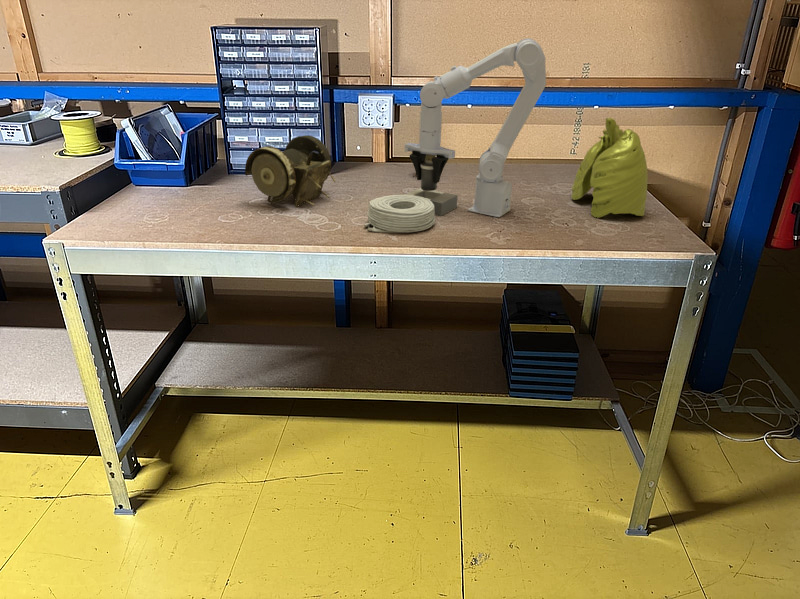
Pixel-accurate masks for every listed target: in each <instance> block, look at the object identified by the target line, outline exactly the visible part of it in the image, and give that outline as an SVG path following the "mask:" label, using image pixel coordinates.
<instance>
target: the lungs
mask: <svg viewBox="0 0 800 599" xmlns="http://www.w3.org/2000/svg"><path fill="white" fill-rule="evenodd" d="M602 133H603V135H602V136H598V139H600V140H599V141H597V142H595V144H593V145H591V148H589V149H588V150H587V152H586V154H585V156H584V157H583V160H582V161H581V162H580V166H579V167H578V169H577V171H576V174H575V178H574V181H573V184H572V187H571V196H570V198H571V199H572V200H573V201H577V200H580V199H582V197H584V195H586V194H587V193H588V192H590V190H591V189H592V188H593V190H592V193H591V195H592V197H593V199H592V202H591V209H590V214H591V215H592V216H593V217H594V218H596V217H597V219H599V218H602V217H606V216H607V215H609V214H613V215H617V214H624V215H625V214H631V215H635V216H638V217H639V216H640V217H645V216H644V215H645V210H646V204H647V203H646V202H647V197H648V196H647V195H648V164H647V160H646V155H645V151H644V149H643V147H642V145H641V138H640V136H639V134H638V133H636V132H635V131H634V130H632V129H630V128H628V129H625V130H623V129H621V128H620V125H619V124H617V122H616V120H615V119H614V118H612V117H608V118H605V129H603V130H602Z"/></svg>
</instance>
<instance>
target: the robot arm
mask: <svg viewBox="0 0 800 599" xmlns="http://www.w3.org/2000/svg"><path fill="white" fill-rule="evenodd" d="M515 62H516V63H517V65H518V67H519V68H520V70H521V71H522V76H523V79H524V85H523V87H522V89H521V91H520V93H519V94H518V96H517V98H516V100H515V102H514V104H513V105H512V107H511V109H510V111H509V112H508V115H507V116H506V118H505V120H504V121H503V123H502V126H501V127H500V129H499V131H498V133H497V135H496V136H495V139H494V140H493V141H492V142H491V143H490V146H489V147H488V149H486V150H485V151H483V153H482V154H481V155H480V156H479V159H478V164H479V165H478V174H476V176H475V178H476V179H475V188H474V189H475V190H474V201H473V205H472V206H471V207H469V208H468V209H467V211H468V212H471V213H475V214H481V215H485V216H491V217H496V218H500V217H502V216H504V215H505V214H507V213H508V212H510V211H511V202H512V192H513V191H512V190H513V186H512V183H511V182H510V181H508V180H507V181H506V180H504V176H503V172H504V165H505V162H506V161H507V158H508V155H509V152H510V150H511V149H512V146H513V145H514V143H515V141H516V139H517V138H518V136H519V134H520V132H521V131H522V129H523V127H524V125H525V123H526V122H527V120H528V118H529V116H530V114H531V113H532V111H533V110H534V107H535V105H536V104H537V102H538V101H539V99H540V97H541V95H542V93H543V91H544V90H545V87H546V86H547V76H546V75H547V73H546V72H547V71H546V56H545V53H544V51H543V48H542V46H541V45H540V44H539V43H538V42H537V41H536V40H535V39H533V38H529V37H528V38H523V39H521V40H520V41H519V42H514V43H511V44H508V45H506V46H504V47H501V48H500V49H498V50H496V51H494V52H493V53H491V54H489V55H487V56H485V57H484V58H482V59H481V60H479V61H477V62H475V63H473V64H472V65H470V66H468V67H467V66H464V65H458V66H456V65H454V66H451V67H450V71H447V72H446V73H443V74H442V75H440V76H438V75H436V76H433V80H430V81H428V82H426V83H425V84H424V85H423V86H422V88H421V90H420V92H419V99H420V101H421V104H420V112H419V133H418V134H419V135H418V136H419V137H418V143H413V142H408V143H404V152H411V154H409V158H410V160H411V163H412V165H413V168H414V171H415V175H416V180H417V181H421V163H422V162H423V161H425V157H426V154H429V155H435V156H436V157H434V158H432V163H433V183H435V184H436V183H437V184H438V183H439V182H440V179H441V176H442V172H443V170H444V168H445V166H446V164H447V162H448V161H449V160H453V159H455V158H456V150H455V149H451V148H447V147H444V146H442V144H441V143H442V141H441V138H442V125H443V123H442V121H443V112H442V105H443V104H442V102H443V100H444V99H445V100H447V99H450V98H452V97H454V96H456V95H457V94H459V93H461V92H463V91H465V90H467V89H470V88H471V85H472V82H473V80H474V79H477V78H478V77H479V78H480V77H481V76H484V75H485V74H487V73H489V72H492V71H493V70H495V69H497V68H499V67H502V66H506V67H515Z"/></svg>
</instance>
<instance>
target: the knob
mask: <svg viewBox="0 0 800 599" xmlns="http://www.w3.org/2000/svg"><path fill="white" fill-rule="evenodd" d="M437 185H438V183H436V184H435V183H433V163H432V161H423V162H422V163H421V180H420V188H421V189H422V190H425V191H433V190H434V191H437V188H438V186H437Z"/></svg>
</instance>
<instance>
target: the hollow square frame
mask: <svg viewBox="0 0 800 599" xmlns="http://www.w3.org/2000/svg"><path fill="white" fill-rule="evenodd" d="M404 195H413V196H420V197H423V198H426V199H428V200H430V201H431V202H432V203H433V204H434V212H435V215H436V216H440V217H442V216H444V215H446V214H448V213H449V212H451V211H454V208H455V209H456V208H457V207H458V196H459V195H458V194H453V193H449V192H444V191H440V190H433V191H425V190H422V189H421V187H419V188H417V189H414V190H412V191H410V192H409V193H405V194H404Z"/></svg>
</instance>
